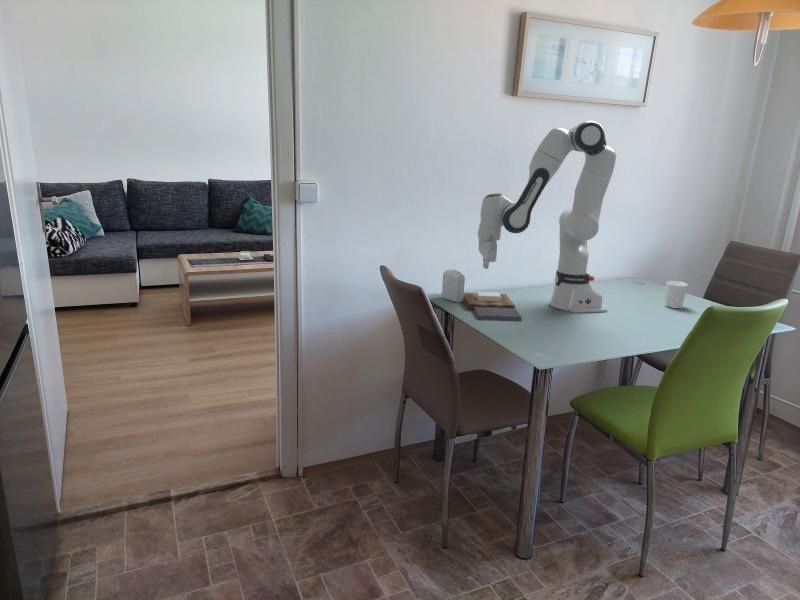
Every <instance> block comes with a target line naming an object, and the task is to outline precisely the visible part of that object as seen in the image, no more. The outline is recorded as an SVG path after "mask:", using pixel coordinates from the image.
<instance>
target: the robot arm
mask: <svg viewBox="0 0 800 600" xmlns="http://www.w3.org/2000/svg"><path fill="white" fill-rule="evenodd" d="M572 151H574V152H575V151H576V152H580V153H581V152H582V153H584V156H585V157H584V158H585V161H584V164H583V167H582V170H581V171H580V172H581V173H580V175H579V177H578V181H577V184H576V186H575V189H574V197H573V203H572V207H571V208H567V209H565V210H563V211H562V212H561V214H560V216H559V218H558V221H559V222H558V223H559V257H558V265H557V269H556V272H555V276H554V289H553V292H552V293H553V294H552V295H551V299H550V301H549V305H550V306H551V307H553V308H555V309H559V310H562V311H563V310H564V311H567V312H571V313H573V314H574V313H602V312H608V307H607V305H606V304H605V303H603V296H602V294H601V292H600V291H599V290H598V289H597V288H596V287H595V286H594V285H593V284H592V283H591V282H594V281H595V277H594V276H593V275H590V274H589V273H588V272H587V271H588V262H589V248H588V247H589V246H588V241H590V240H591V239H594V238H595V237H596V236H597V235H598V232H599V226H600V224H599V221H600V216H601V212H602V211H601V210H602V206H603V201H604V198H605V195H606V192H607V189H608V187H609V184H610V181H611V178H612V177H613V174H614V173H613V172H614V169H615V165H616V159H617V153H616V151H615V150H614V149H613V148H612V147H610V146H607V140H606V135H605V130H604V128H603V125H601V124H600V123H599V122H597V121H595V120H586V121H582V122H580V123H579V124H577V125H575V126H574V127H573V128H571V129H569V130H567V129H565V128H562V127H554V128H552V129H551V130H550V131H549V132H548V133H547V134H546V136H545V137H544V138H543V139H542V141H541V142H540V144H539V145H538V147H537V148H536V149H535V152H534V154H533V156H532V158H531V161H530V163H529V165H528V166H529V169H528V170H529V173H528V174H529V175H528V180H527V184H526V185H525V187H524V189H523V190H522V193H521V194H520V196H519V198H518V200H517V201H516V202H514V201H512V200H510V199H509V198H507V197H506V196H505V195H504V194H503V193H490V194H487V195H486V196H485V197H484V198H483V199H482V202H481V208H480V216H479V217H480V222H479V225H478V230H477V238H478V252H479V253H480V255H481V256H482V262H483V263H482V267H483V268H484V269H485V270H488V269H489V266H490V263H495V262H497V252H498V243H497V241H500V240H501V233H502V227H504V228H505V230H506V231H507V232H509V233H512V234H520V233H523V232H524V231H526V229H528V227H529V226H530V223H531V215H532V211H533V208H534V207H535V205H536V204H537V201H538V199H539V198H540V196H541V194H542V192H543V191H544V189H545V188H546V186H547V185H548V184H549V182H550V181H551V180H552V179H553V177H554V176H555V174H556V173H558V171H559V169H560V167H562V164H563V162H564V161H565V159H566V158H567V156H568V155H569V154H570V153H571V152H572Z"/></svg>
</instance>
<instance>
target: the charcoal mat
mask: <svg viewBox="0 0 800 600" xmlns="http://www.w3.org/2000/svg"><path fill="white" fill-rule="evenodd" d="M473 312H474V314H475V313H476V314H475V316H476V315H477V316H476V318H477V317H478V318H477V320H481V319H492V320H491V321H519V322H521V321H522V318H523V317H522V315H521V313H519V312H518V310H517V309H516V307H515V308H492V307H474V310H473Z"/></svg>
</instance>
